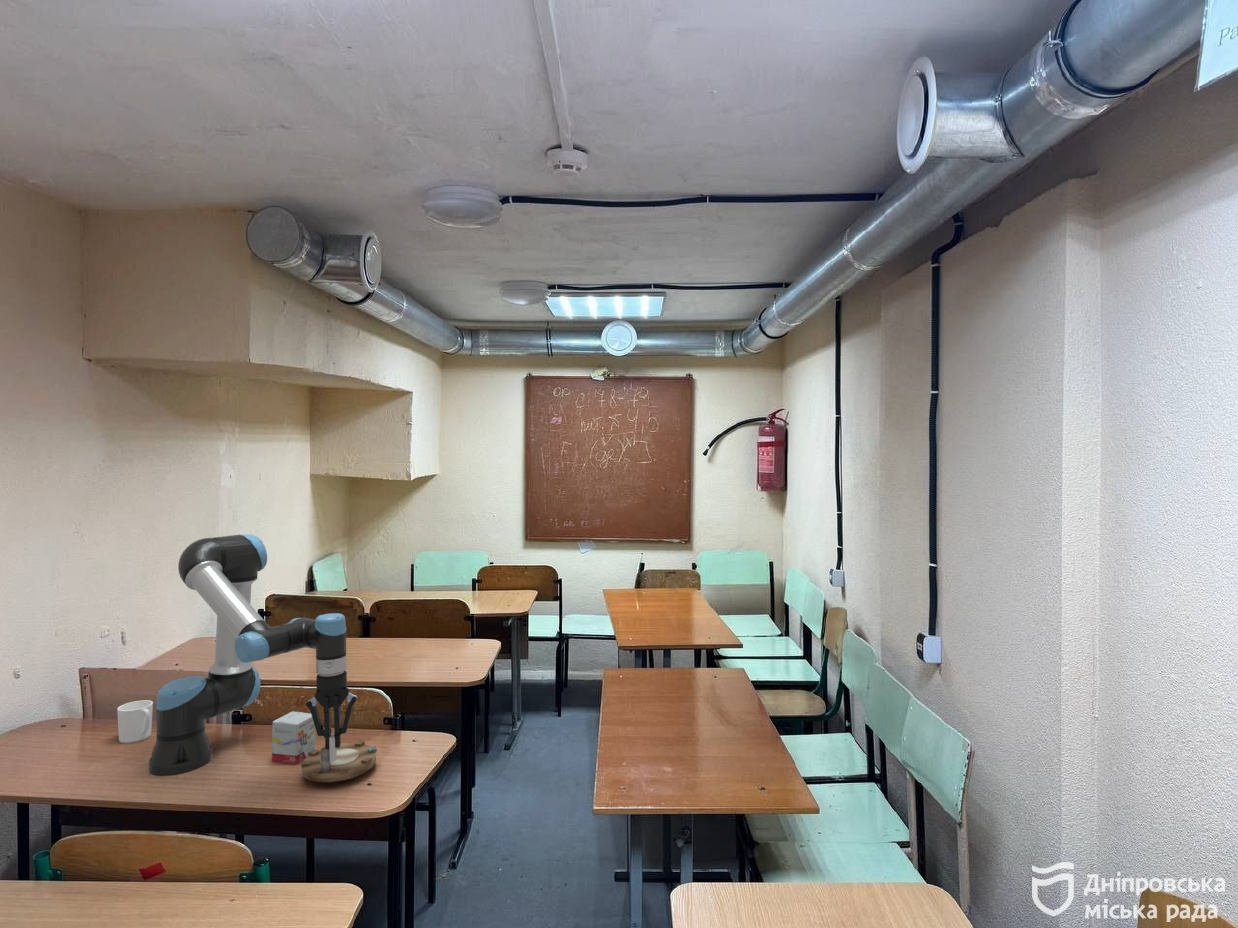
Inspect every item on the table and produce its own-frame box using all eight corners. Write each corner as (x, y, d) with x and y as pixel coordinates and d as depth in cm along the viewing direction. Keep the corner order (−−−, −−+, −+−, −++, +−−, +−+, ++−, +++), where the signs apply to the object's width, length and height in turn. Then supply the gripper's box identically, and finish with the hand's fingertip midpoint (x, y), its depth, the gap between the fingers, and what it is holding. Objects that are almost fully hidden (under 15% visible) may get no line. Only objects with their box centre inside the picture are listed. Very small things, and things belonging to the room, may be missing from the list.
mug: (110, 741, 199) (110, 708, 199) (141, 730, 208) (141, 698, 208) (133, 747, 195) (133, 713, 195) (163, 736, 203) (163, 703, 203)
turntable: (298, 759, 184) (298, 731, 184) (370, 744, 194) (370, 717, 194) (303, 789, 167) (304, 758, 167) (382, 771, 177) (382, 742, 177)
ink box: (296, 764, 185) (296, 723, 185) (270, 761, 187) (271, 721, 187) (316, 751, 193) (316, 712, 193) (291, 748, 195) (291, 709, 195)
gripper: (302, 678, 169) (304, 769, 169) (354, 674, 172) (356, 762, 172) (308, 670, 176) (310, 756, 176) (358, 665, 179) (360, 750, 179)
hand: (333, 759), depth 174 cm, fingers closed
